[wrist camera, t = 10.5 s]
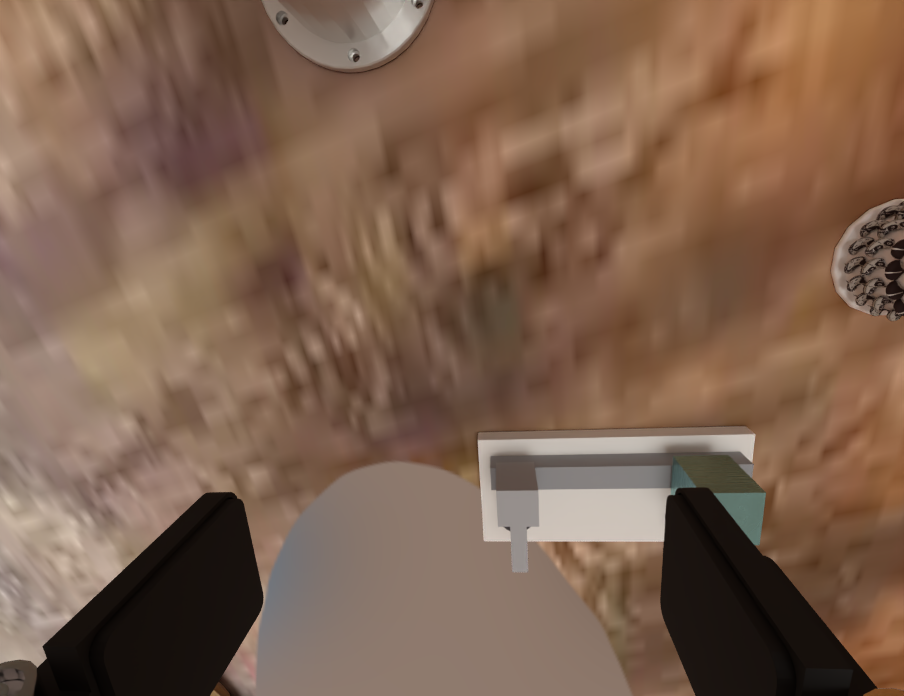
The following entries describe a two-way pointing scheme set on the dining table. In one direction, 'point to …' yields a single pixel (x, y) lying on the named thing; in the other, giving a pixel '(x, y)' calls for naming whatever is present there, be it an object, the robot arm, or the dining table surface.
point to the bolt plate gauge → (589, 481)
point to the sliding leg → (724, 488)
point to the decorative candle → (873, 262)
